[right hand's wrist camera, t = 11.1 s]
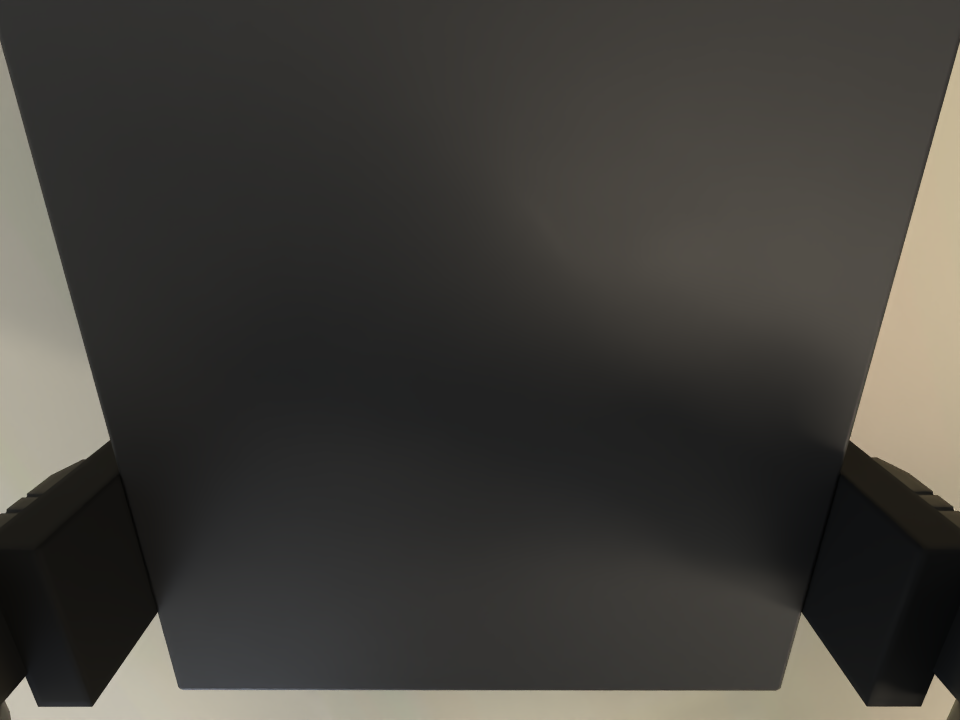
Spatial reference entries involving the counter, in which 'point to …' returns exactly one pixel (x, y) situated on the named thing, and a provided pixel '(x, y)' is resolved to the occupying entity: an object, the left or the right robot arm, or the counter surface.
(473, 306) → the cabinet
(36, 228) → the counter surface
